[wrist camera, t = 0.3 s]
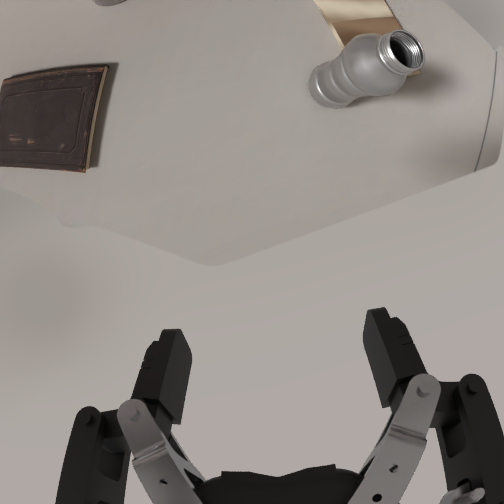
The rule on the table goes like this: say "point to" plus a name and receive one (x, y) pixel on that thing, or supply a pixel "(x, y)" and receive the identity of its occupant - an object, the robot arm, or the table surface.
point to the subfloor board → (358, 19)
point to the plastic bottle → (366, 68)
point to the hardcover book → (50, 118)
